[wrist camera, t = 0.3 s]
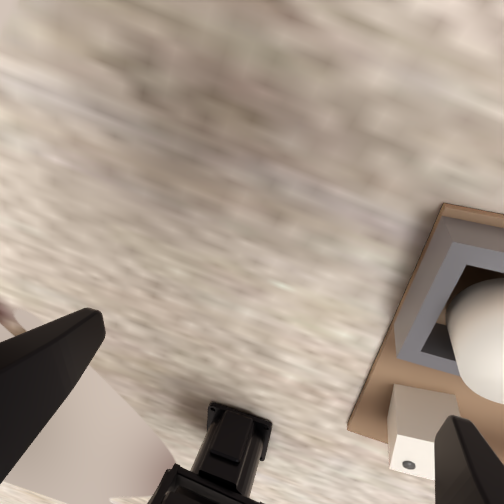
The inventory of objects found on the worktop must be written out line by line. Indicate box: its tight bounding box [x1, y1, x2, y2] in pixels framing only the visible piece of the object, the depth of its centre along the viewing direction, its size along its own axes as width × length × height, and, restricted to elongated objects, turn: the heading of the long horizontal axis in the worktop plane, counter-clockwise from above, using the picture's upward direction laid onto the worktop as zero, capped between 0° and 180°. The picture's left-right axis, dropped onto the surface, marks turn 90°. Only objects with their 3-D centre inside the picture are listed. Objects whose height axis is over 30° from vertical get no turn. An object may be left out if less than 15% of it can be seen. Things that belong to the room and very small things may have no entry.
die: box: [387, 384, 460, 481], centre depth 24 cm, size 4×4×4 cm
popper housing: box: [394, 216, 504, 377], centre depth 18 cm, size 8×8×3 cm
